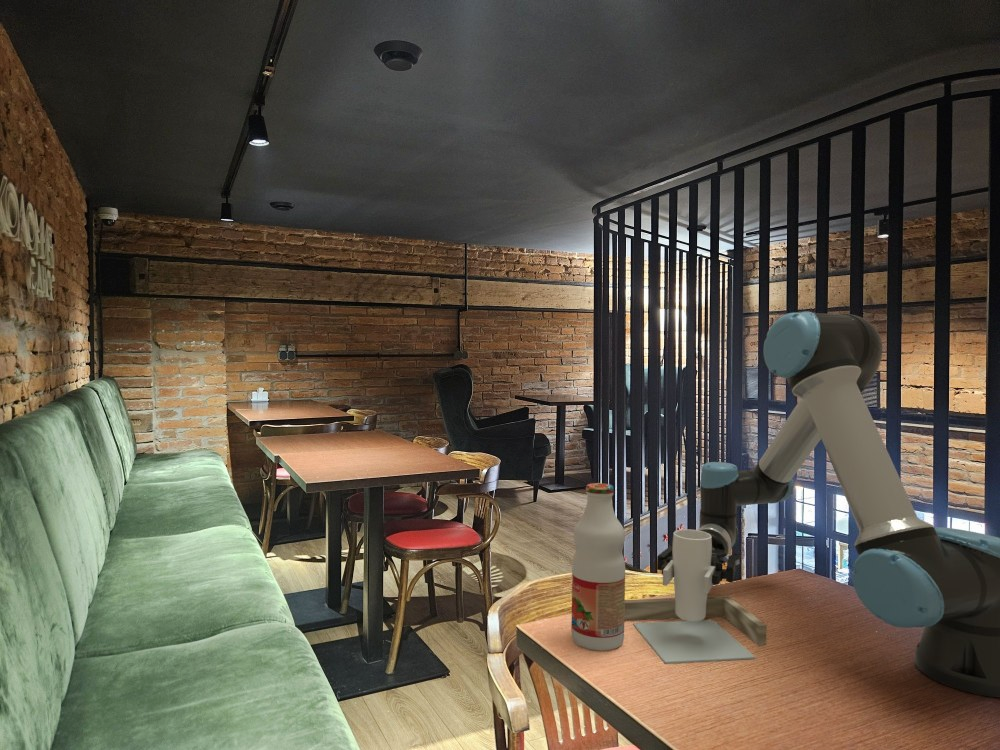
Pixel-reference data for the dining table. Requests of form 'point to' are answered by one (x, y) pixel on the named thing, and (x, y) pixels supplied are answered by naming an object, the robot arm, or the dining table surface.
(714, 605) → the birch walls
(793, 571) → the dining table surface
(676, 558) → the drinking glass
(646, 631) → the pad
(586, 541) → the fruit juice
